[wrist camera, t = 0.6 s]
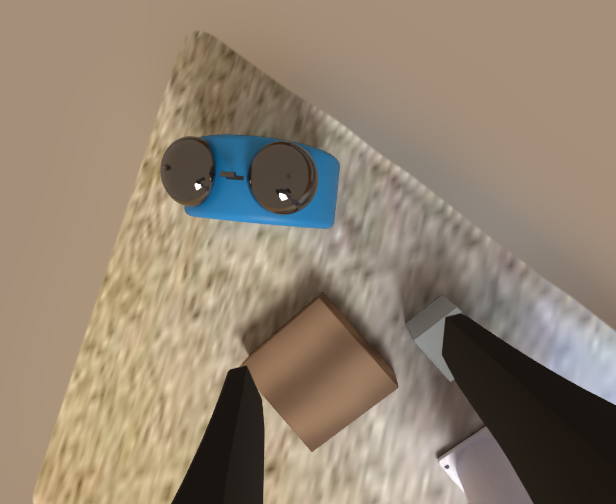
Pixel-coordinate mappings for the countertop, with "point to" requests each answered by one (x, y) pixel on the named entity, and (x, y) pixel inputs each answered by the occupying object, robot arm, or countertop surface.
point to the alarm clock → (252, 180)
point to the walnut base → (320, 372)
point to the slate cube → (433, 331)
